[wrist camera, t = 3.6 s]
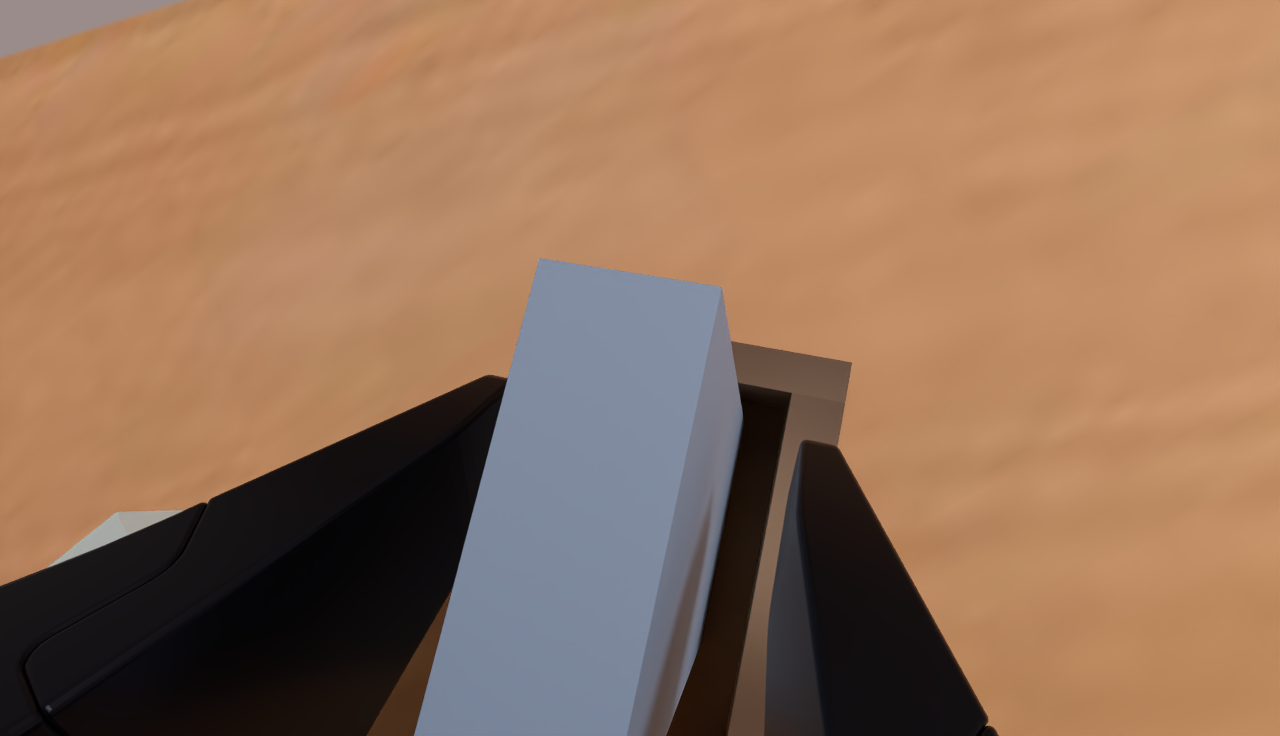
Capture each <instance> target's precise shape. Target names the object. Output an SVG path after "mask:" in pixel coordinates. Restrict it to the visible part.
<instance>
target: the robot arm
mask: <svg viewBox="0 0 1280 736" xmlns="http://www.w3.org/2000/svg"><path fill="white" fill-rule="evenodd" d="M507 380H508V378H504V377H499V376H494V375H486V376H483V377H481V378H479V379H476V380H474V381H472V382H470V383H468V384H465V385H463V386H461V387H459V388H456V389H454V390H452V391H450V392H448V393H445V394H443V395H441V396H439V397H436V398H434V399H432V400H430V401H427V402H425V403H423V404H421V405H419V406H416V407H414V408H412V409H410V410H407V411H405V412H403V413H401V414H398V415H396V416H394V417H392V418H390V419H387V420H385V421H383V422H381V423H378V424H376V425H374V426H372V427H370V428H367V429H365V430H363V431H361V432H358V433H356V434H354V435H352V436H349V437H347V438H345V439H343V440H341V441H338V442H336V443H334V444H332V445H329V446H327V447H325V448H323V449H320V450H318V451H316V452H314V453H311V454H309V455H307V456H305V457H303V458H300V459H298V460H296V461H294V462H291V463H289V464H287V465H285V466H282V467H280V468H278V469H276V470H274V471H271V472H269V473H267V474H265V475H262V476H260V477H258V478H256V479H253V480H251V481H249V482H247V483H244V484H242V485H240V486H238V487H236V488H233V489H231V490H229V491H227V492H224V493H222V494H220V495H218V496H215V497H213V498H211V499H210V500H209V502H208V504H207V503H199V504H197V505H195V506H193V507H191V508H188V509H186V510H184V511H182V512H180V513H177V514H175V515H173V516H171V517H168V518H166V519H164V520H162V521H159V522H157V523H155V524H152V525H150V526H148V527H145V528H143V529H141V530H138V531H136V532H134V533H131V534H129V535H127V536H124V537H122V538H120V539H118V540H115V541H113V542H111V543H108V544H106V545H104V546H101V547H99V548H96V549H94V550H91V551H89V552H86V553H84V554H81V555H79V556H76V557H74V558H71V559H68V560H66V561H63V562H61V563H58V564H56V565H53V566H51V567H48V568H46V569H43V570H41V571H38V572H36V573H33V574H31V575H28V576H25V577H23V578H20V579H18V580H15V581H12V582H10V583H7V584H5V585H2V586H0V736H366V735H367V733H368V732H369V730H370V728H371V727H372V725H373V723H374V721H375V720H376V718H377V716H378V715H379V713H380V711H381V709H382V708H383V706H384V704H385V703H386V701H387V699H388V697H389V696H390V694H391V692H392V691H393V689H394V687H395V685H396V684H397V682H398V680H399V679H400V677H401V675H402V674H403V672H404V670H405V668H406V667H407V665H408V663H409V662H410V660H411V658H412V656H413V655H414V653H415V651H416V650H417V648H418V646H419V644H420V643H421V641H422V639H423V638H424V636H425V634H426V633H427V631H428V629H429V627H430V626H431V624H432V622H433V621H434V619H435V617H436V615H437V614H438V612H439V610H440V609H441V607H442V605H443V603H444V602H445V600H446V598H447V597H448V595H449V593H450V591H451V590H452V588H453V586H454V582H455V578H456V574H457V570H458V566H459V563H460V559H461V555H462V551H463V547H464V544H465V540H466V536H467V532H468V528H469V525H470V521H471V517H472V513H473V509H474V505H475V502H476V498H477V494H478V490H479V486H480V483H481V479H482V475H483V471H484V467H485V464H486V460H487V456H488V452H489V448H490V444H491V441H492V437H493V433H494V429H495V425H496V422H497V418H498V414H499V410H500V406H501V403H502V399H503V395H504V391H505V387H506V383H507ZM987 723H988V716H987V714H986V713H985V711H984V709H983V707H982V705H981V704H980V702H979V700H978V698H977V696H976V695H975V693H974V691H973V689H972V687H971V686H970V684H969V682H968V680H967V678H966V677H965V675H964V673H963V671H962V669H961V668H960V666H959V664H958V662H957V660H956V659H955V657H954V655H953V653H952V651H951V650H950V648H949V646H948V644H947V642H946V641H945V639H944V637H943V635H942V633H941V632H940V630H939V628H938V626H937V624H936V623H935V621H934V619H933V617H932V615H931V614H930V612H929V610H928V608H927V606H926V605H925V603H924V601H923V599H922V597H921V595H920V594H919V592H918V590H917V588H916V586H915V585H914V583H913V581H912V579H911V577H910V576H909V574H908V572H907V570H906V568H905V567H904V565H903V563H902V561H901V559H900V558H899V556H898V554H897V552H896V550H895V549H894V547H893V545H892V543H891V541H890V540H889V538H888V536H887V534H886V532H885V531H884V529H883V527H882V525H881V523H880V522H879V520H878V518H877V516H876V514H875V513H874V511H873V509H872V507H871V505H870V504H869V502H868V500H867V498H866V496H865V495H864V493H863V491H862V489H861V487H860V486H859V484H858V482H857V480H856V478H855V477H854V475H853V473H852V471H851V469H850V468H849V466H848V464H847V462H846V460H845V458H844V457H843V455H842V453H841V451H840V450H839V448H838V447H836V446H835V445H832V444H827V443H822V442H818V441H813V440H803V441H802V442H801V443H800V446H799V450H798V454H797V458H796V463H795V467H794V471H793V476H792V480H791V484H790V489H789V493H788V498H787V504H786V510H785V516H784V523H783V529H782V535H781V541H780V548H779V554H778V560H777V566H776V573H775V579H774V585H773V591H772V598H771V604H770V612H769V620H768V636H767V661H766V693H765V725H764V736H999V735H998V734H997V732H996V730H995V729H994V728H993V727H992V726H986V724H987ZM985 726H986V727H985ZM984 727H985V728H984Z"/></svg>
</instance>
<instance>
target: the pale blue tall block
mask: <svg viewBox="0 0 1280 736" xmlns="http://www.w3.org/2000/svg"><path fill="white" fill-rule="evenodd" d="M743 429H744V418H743V412H742V406H741V400H740V394H739V388H738V382H737V376H736V370H735V364H734V358H733V351H732V345H731V339H730V333H729V327H728V321H727V315H726V309H725V303H724V297H723V291H722V287H719V286H712V285H706V284H700V283H693V282H687V281H681V280H674V279H668V278H662V277H655V276H649V275H643V274H636V273H630V272H624V271H617V270H611V269H605V268H598V267H592V266H586V265H579V264H573V263H567V262H560V261H554V260H548V259H541V258H539V261H538V265H537V269H536V273H535V277H534V281H533V284H532V288H531V292H530V296H529V300H528V303H527V307H526V311H525V315H524V319H523V322H522V326H521V330H520V334H519V338H518V342H517V345H516V349H515V353H514V357H513V361H512V364H511V368H510V372H509V376H508V380H507V383H506V387H505V391H504V395H503V399H502V403H501V406H500V410H499V414H498V418H497V422H496V425H495V429H494V433H493V437H492V441H491V444H490V448H489V452H488V456H487V460H486V464H485V467H484V471H483V475H482V479H481V483H480V486H479V490H478V494H477V498H476V502H475V505H474V509H473V513H472V517H471V521H470V525H469V528H468V532H467V536H466V540H465V544H464V547H463V551H462V555H461V559H460V563H459V566H458V570H457V574H456V578H455V582H454V586H453V589H452V593H451V597H450V601H449V605H448V608H447V612H446V616H445V620H444V624H443V627H442V631H441V635H440V639H439V643H438V647H437V650H436V654H435V658H434V662H433V666H432V669H431V673H430V677H429V681H428V685H427V688H426V692H425V696H424V700H423V704H422V708H421V711H420V715H419V719H418V723H417V727H416V730H415V734H414V736H666V735H667V732H668V729H669V727H670V724H671V721H672V719H673V716H674V713H675V711H676V708H677V705H678V703H679V700H680V698H681V695H682V692H683V690H684V687H685V684H686V682H687V679H688V676H689V674H690V671H691V668H692V666H693V663H694V660H695V658H696V655H697V652H698V650H699V647H700V644H701V640H702V635H703V630H704V625H705V620H706V615H707V610H708V605H709V600H710V595H711V590H712V585H713V580H714V575H715V570H716V565H717V560H718V555H719V550H720V545H721V540H722V535H723V530H724V525H725V520H726V515H727V510H728V504H729V499H730V494H731V489H732V484H733V479H734V474H735V469H736V464H737V459H738V454H739V449H740V444H741V439H742V434H743Z"/></svg>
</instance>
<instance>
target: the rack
mask: <svg viewBox="0 0 1280 736" xmlns="http://www.w3.org/2000/svg"><path fill="white" fill-rule="evenodd" d="M731 345H732V351H733V358H734V364H735V370H736V376H737V382H738V388H739V394H740V400H741V401H744V402H749V403H754V404H759V405H764V406H769V407H774V408H779V409H784V410H786V413H785V419H784V424H783V429H782V435H781V440H780V445H779V450H778V456H777V461H776V466H775V472H774V477H773V482H772V488H771V493H770V498H769V504H768V509H767V514H766V519H765V525H764V530H763V535H762V541H761V546H760V551H759V557H758V562H757V567H756V572H755V578H754V583H753V588H752V594H751V599H750V604H749V610H748V615H747V620H746V625H745V631H744V636H743V641H742V647H741V652H740V657H739V663H738V668H737V673H736V679H735V684H734V689H733V694H732V700H731V705H730V710H729V716H728V721H727V726H726V732H725V736H764V725H765V693H766V661H767V636H768V620H769V612H770V604H771V598H772V591H773V585H774V579H775V573H776V566H777V560H778V554H779V548H780V541H781V535H782V529H783V523H784V516H785V510H786V504H787V498H788V493H789V489H790V484H791V480H792V476H793V471H794V467H795V463H796V458H797V454H798V450H799V446H800V443H801V442H802V441H803V440H813V441H818V442H822V443H827V444H832V445H835V446H836V447H837V446H838V440H839V434H840V429H841V423H842V417H843V411H844V406H845V400H846V394H847V388H848V382H849V377H850V371H851V365H852V363H851V362H845V361H840V360H834V359H828V358H823V357H817V356H811V355H806V354H800V353H794V352H789V351H783V350H777V349H772V348H766V347H760V346H755V345H749V344H743V343H738V342H732V341H731Z"/></svg>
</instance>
